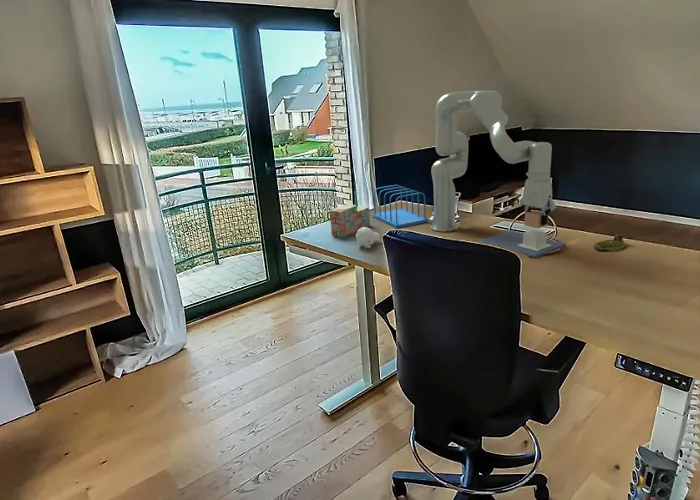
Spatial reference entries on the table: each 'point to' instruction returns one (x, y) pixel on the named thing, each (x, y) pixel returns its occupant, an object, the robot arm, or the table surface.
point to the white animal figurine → (366, 237)
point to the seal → (611, 244)
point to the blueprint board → (515, 243)
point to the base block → (534, 239)
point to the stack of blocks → (348, 219)
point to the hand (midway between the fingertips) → (536, 222)
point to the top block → (534, 219)
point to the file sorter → (399, 210)
